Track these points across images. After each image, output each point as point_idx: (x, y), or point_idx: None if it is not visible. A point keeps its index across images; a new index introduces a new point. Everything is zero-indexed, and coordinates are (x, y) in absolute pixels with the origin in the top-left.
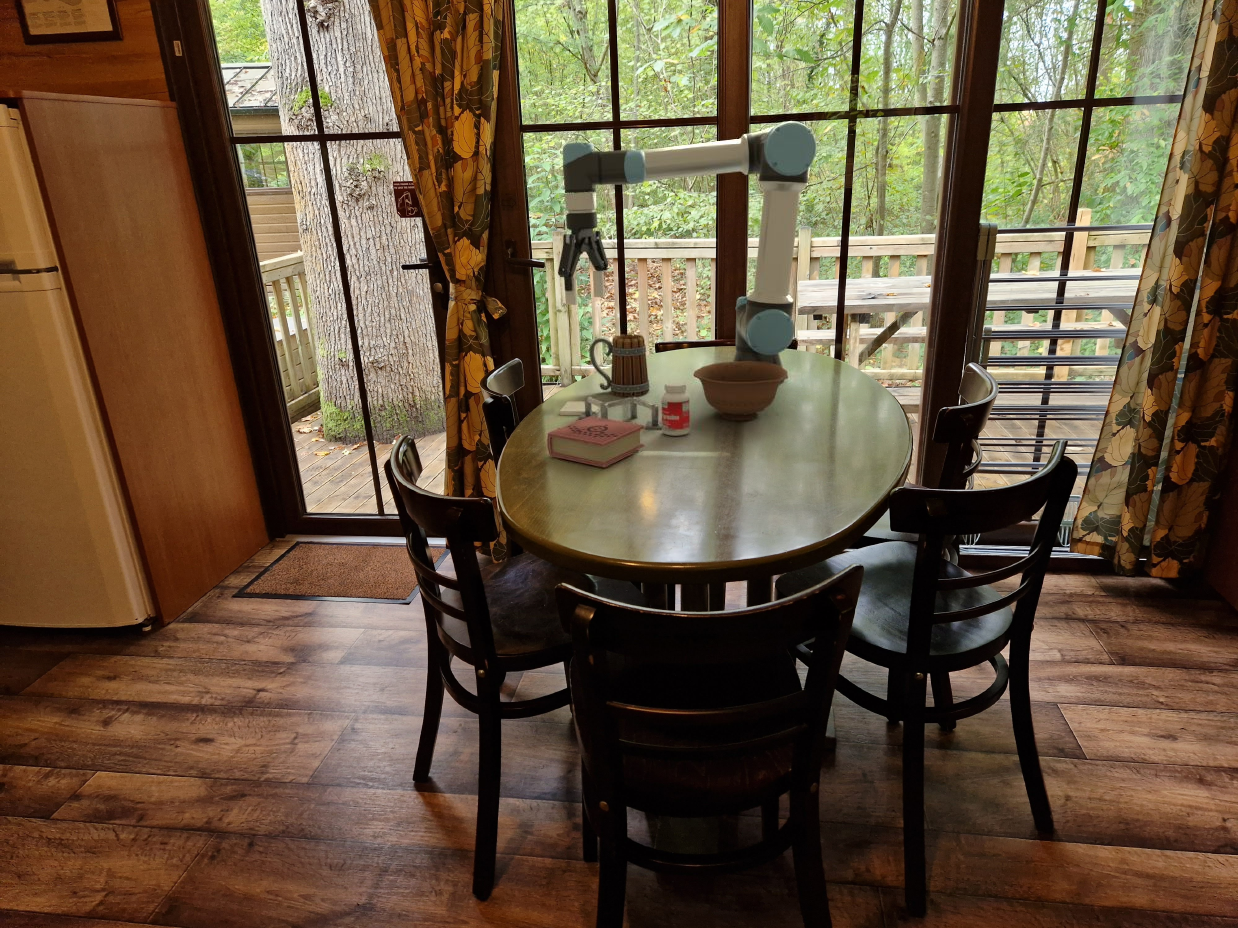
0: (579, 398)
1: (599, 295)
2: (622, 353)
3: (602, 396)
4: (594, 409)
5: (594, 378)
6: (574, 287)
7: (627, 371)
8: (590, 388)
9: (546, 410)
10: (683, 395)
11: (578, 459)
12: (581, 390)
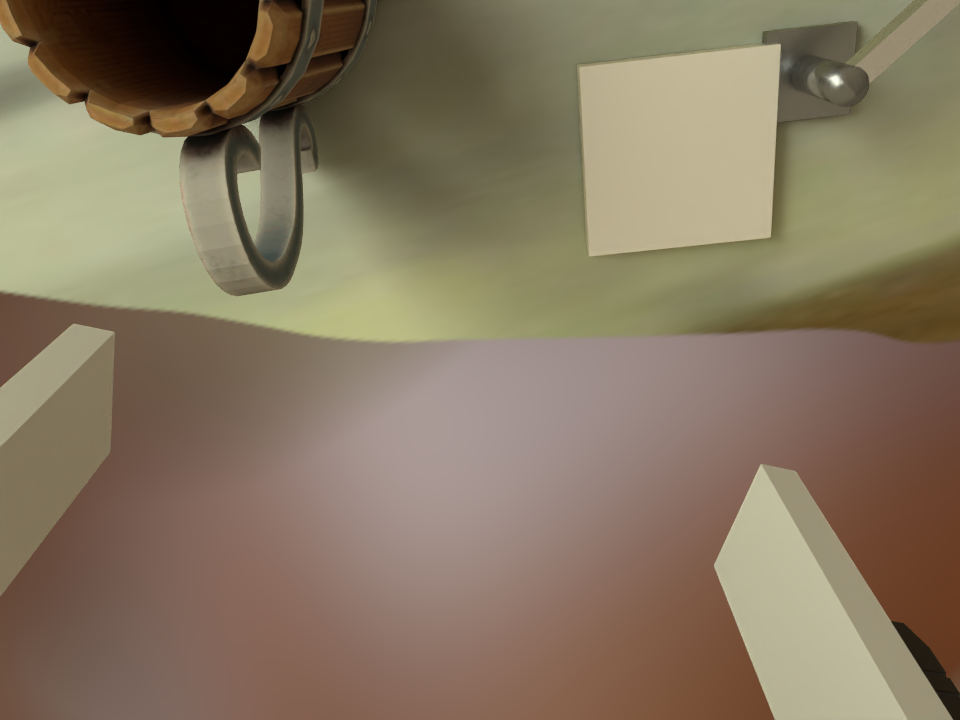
0: (446, 236)
1: (101, 392)
2: (319, 2)
3: (384, 125)
4: (740, 64)
5: (18, 287)
6: (888, 619)
7: None
8: None
9: (681, 319)
10: None
11: None
12: None
